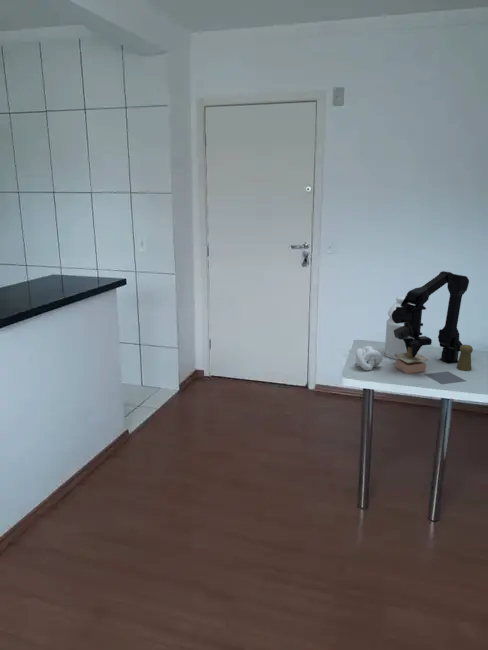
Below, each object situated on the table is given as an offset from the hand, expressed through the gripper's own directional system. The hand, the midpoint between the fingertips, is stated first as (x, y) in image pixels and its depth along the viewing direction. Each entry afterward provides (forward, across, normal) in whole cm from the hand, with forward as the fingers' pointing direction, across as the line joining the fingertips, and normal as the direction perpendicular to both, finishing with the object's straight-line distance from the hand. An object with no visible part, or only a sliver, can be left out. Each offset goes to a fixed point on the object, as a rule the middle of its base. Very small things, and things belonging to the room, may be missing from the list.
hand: (411, 355), depth 224 cm
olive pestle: (+7, +6, +23) cm, 25 cm away
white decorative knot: (+7, -8, -17) cm, 20 cm away
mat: (+7, +13, +8) cm, 17 cm away
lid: (+1, 0, 0) cm, 1 cm away
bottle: (+7, -19, +7) cm, 21 cm away
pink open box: (+7, 0, 0) cm, 7 cm away
